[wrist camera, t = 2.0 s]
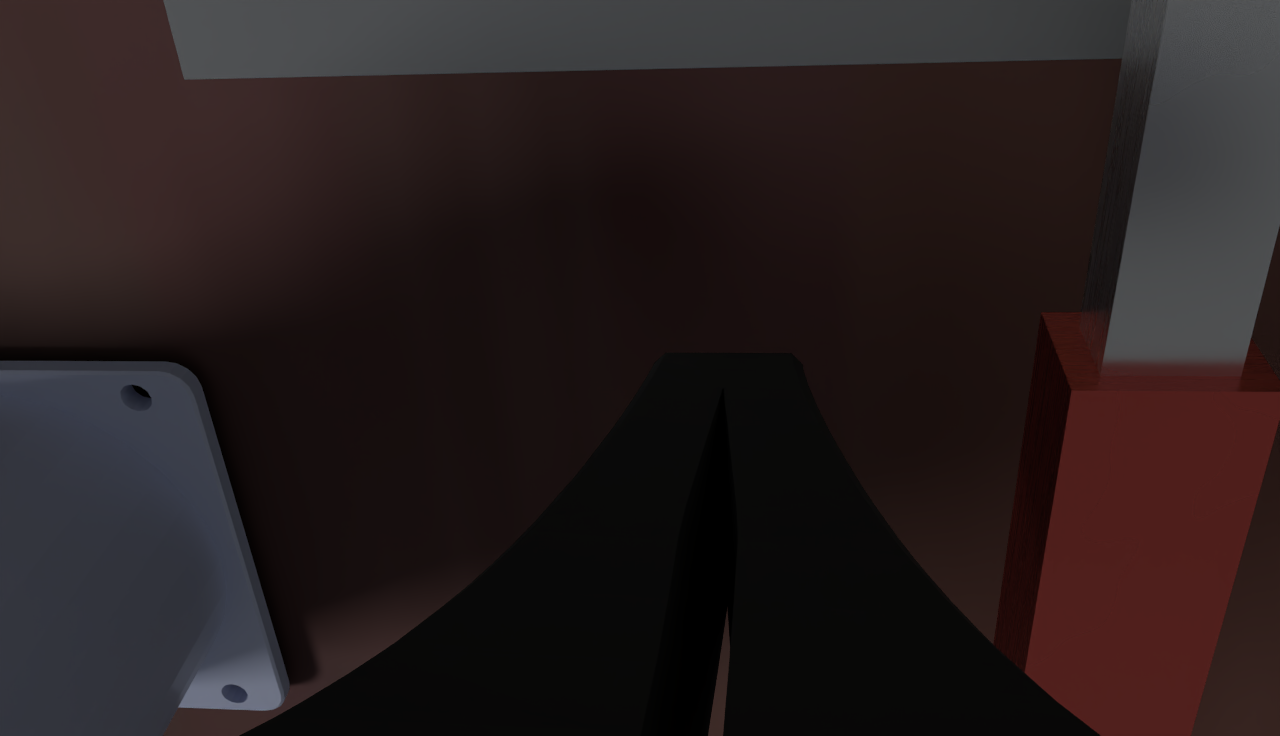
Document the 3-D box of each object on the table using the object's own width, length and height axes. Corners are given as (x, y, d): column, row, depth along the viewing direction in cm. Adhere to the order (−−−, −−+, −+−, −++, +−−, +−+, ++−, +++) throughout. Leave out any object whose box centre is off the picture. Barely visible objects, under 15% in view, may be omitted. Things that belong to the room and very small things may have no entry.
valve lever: (1132, -640, 8) (1195, -688, 7) (1522, -673, 8) (1661, -727, 6) (963, 674, 14) (980, 769, 13) (1171, 681, 14) (1207, 778, 13)
